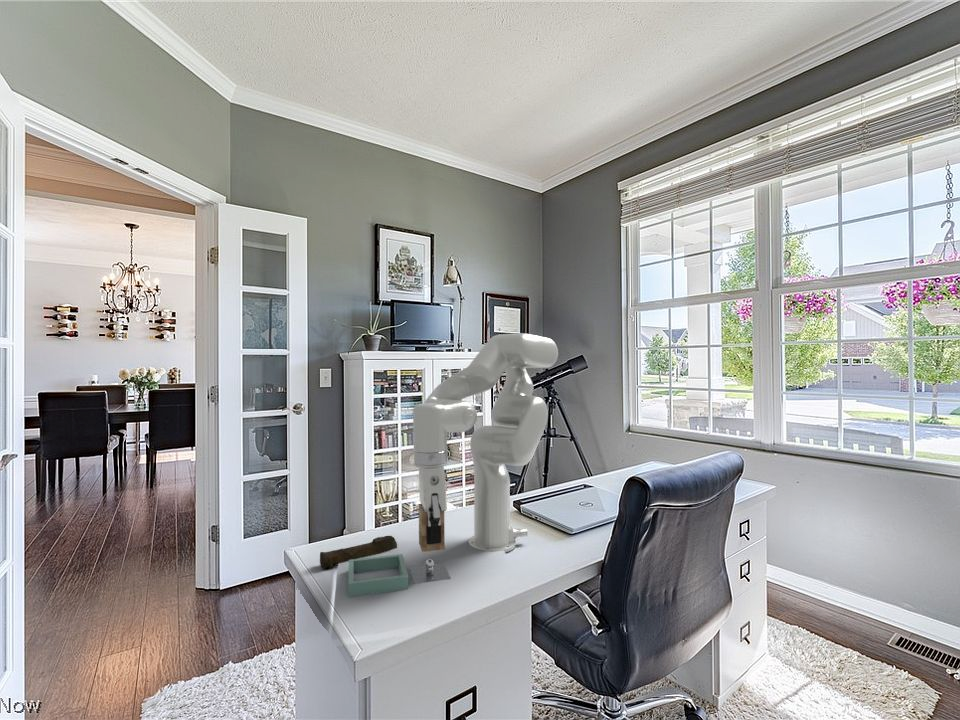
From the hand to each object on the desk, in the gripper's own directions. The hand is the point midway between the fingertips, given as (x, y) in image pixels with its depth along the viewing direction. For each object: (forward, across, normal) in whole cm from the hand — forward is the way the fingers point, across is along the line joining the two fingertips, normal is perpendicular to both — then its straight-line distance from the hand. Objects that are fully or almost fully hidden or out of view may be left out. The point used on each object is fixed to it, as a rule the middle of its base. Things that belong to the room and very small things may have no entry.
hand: (431, 537), depth 101 cm
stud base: (+9, 0, +1) cm, 9 cm away
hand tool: (+9, +14, +16) cm, 23 cm away
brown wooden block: (+2, 0, 0) cm, 2 cm away
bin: (+9, 0, +12) cm, 15 cm away
